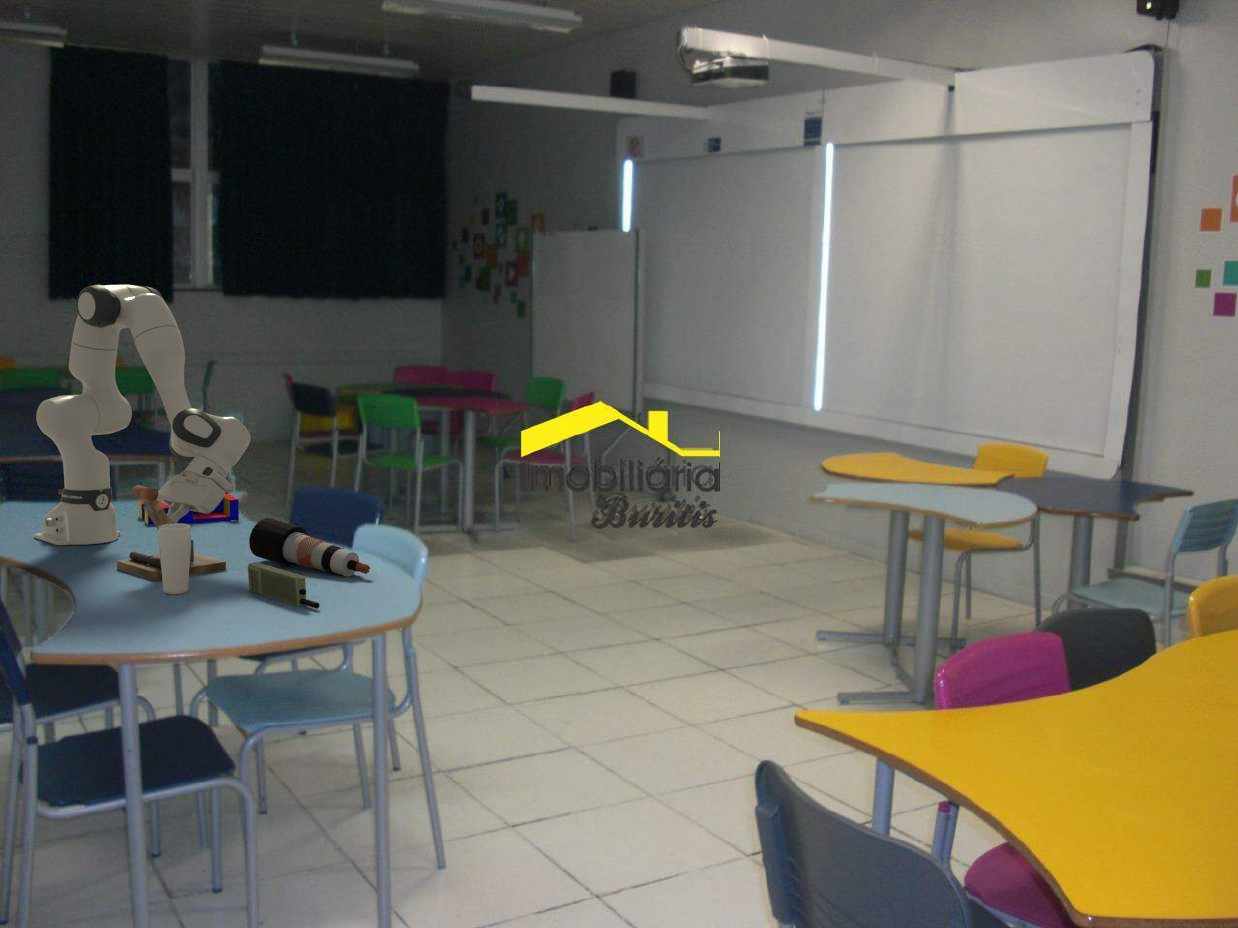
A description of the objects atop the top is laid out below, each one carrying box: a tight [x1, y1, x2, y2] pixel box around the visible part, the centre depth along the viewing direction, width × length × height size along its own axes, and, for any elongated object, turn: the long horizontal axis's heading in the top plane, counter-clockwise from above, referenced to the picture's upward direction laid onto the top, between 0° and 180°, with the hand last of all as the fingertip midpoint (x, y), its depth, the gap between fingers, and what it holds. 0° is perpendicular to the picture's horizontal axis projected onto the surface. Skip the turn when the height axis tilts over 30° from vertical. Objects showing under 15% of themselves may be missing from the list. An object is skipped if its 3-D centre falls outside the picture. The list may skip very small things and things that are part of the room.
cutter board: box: [116, 539, 227, 582], centre depth 290 cm, size 18×18×7 cm
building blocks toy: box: [138, 462, 240, 526], centre depth 356 cm, size 19×25×18 cm
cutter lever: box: [131, 485, 173, 531], centre depth 287 cm, size 3×7×20 cm
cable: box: [248, 517, 371, 578], centre depth 294 cm, size 10×34×10 cm, turn 57°
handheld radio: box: [247, 561, 321, 610], centre depth 264 cm, size 7×3×25 cm
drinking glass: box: [157, 523, 192, 595], centre depth 267 cm, size 7×7×15 cm
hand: (169, 521), depth 288 cm, fingers closed
